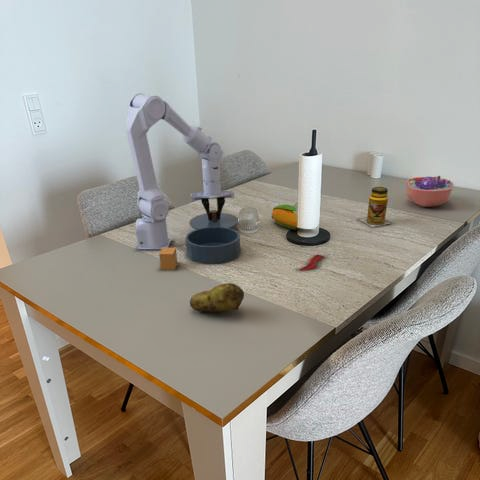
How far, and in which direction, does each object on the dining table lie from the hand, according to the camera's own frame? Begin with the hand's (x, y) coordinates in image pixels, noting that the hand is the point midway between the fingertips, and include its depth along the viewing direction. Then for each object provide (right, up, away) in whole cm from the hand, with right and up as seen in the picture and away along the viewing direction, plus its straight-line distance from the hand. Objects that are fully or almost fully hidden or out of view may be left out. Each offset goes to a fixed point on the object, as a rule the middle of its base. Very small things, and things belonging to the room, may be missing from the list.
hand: (214, 219), depth 161 cm
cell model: (+80, +9, +18) cm, 83 cm away
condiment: (+56, 0, +3) cm, 56 cm away
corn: (+28, -3, 0) cm, 28 cm away
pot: (+1, -14, -16) cm, 21 cm away
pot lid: (0, -1, +1) cm, 1 cm away
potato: (+4, -33, -47) cm, 58 cm away
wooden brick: (-12, -19, -24) cm, 33 cm away
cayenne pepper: (+30, -19, -25) cm, 43 cm away
